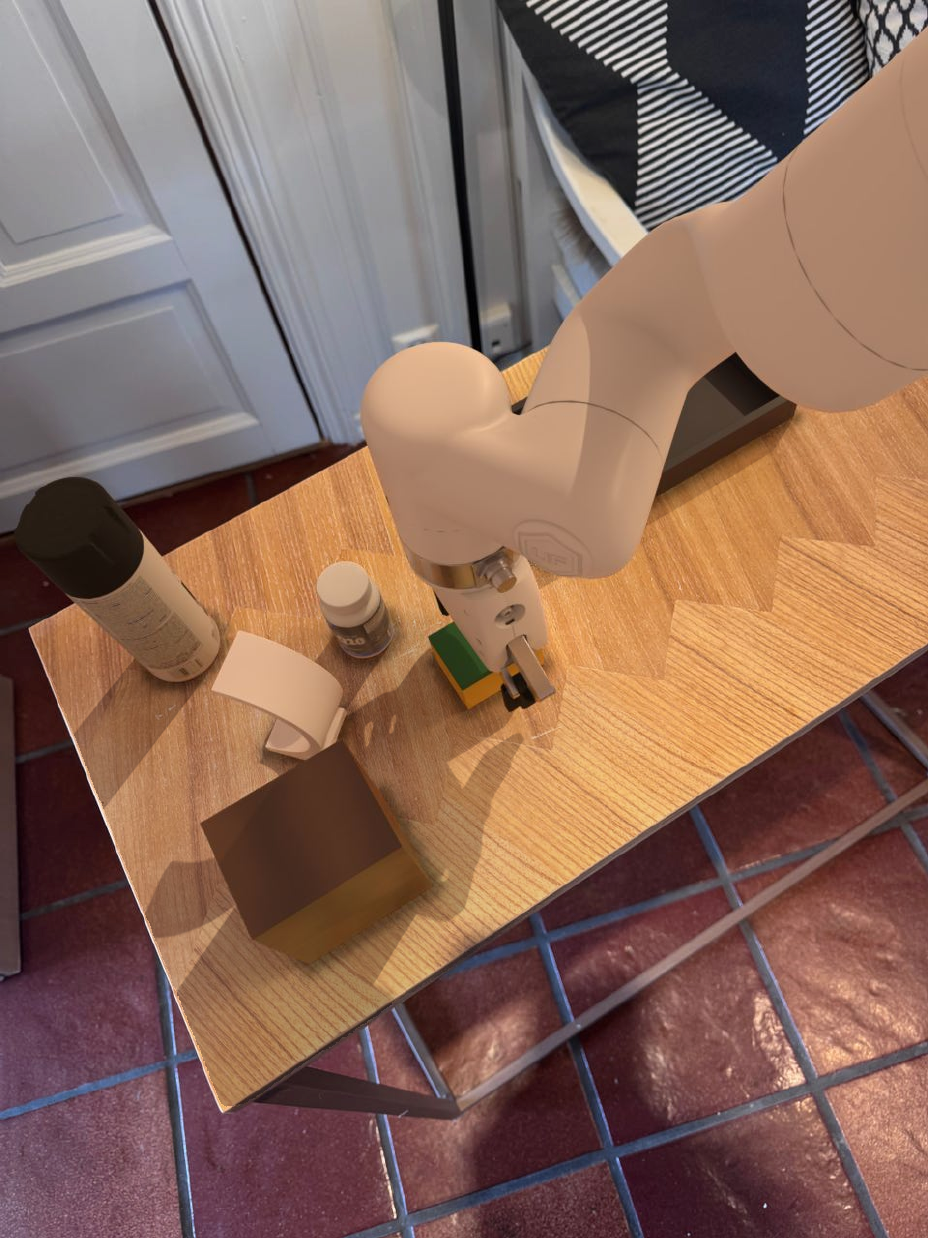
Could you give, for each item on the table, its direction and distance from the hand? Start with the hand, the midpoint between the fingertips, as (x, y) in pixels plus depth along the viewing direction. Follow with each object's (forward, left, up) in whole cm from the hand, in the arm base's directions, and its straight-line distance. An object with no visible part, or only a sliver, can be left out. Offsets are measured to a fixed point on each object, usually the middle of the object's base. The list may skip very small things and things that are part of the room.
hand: (490, 650), depth 68 cm
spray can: (+24, -10, -2) cm, 26 cm away
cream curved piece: (+15, +1, -3) cm, 15 cm away
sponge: (0, 0, -2) cm, 2 cm away
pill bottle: (+9, -6, -3) cm, 11 cm away
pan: (-18, -17, -2) cm, 25 cm away
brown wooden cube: (+15, +12, -2) cm, 20 cm away
